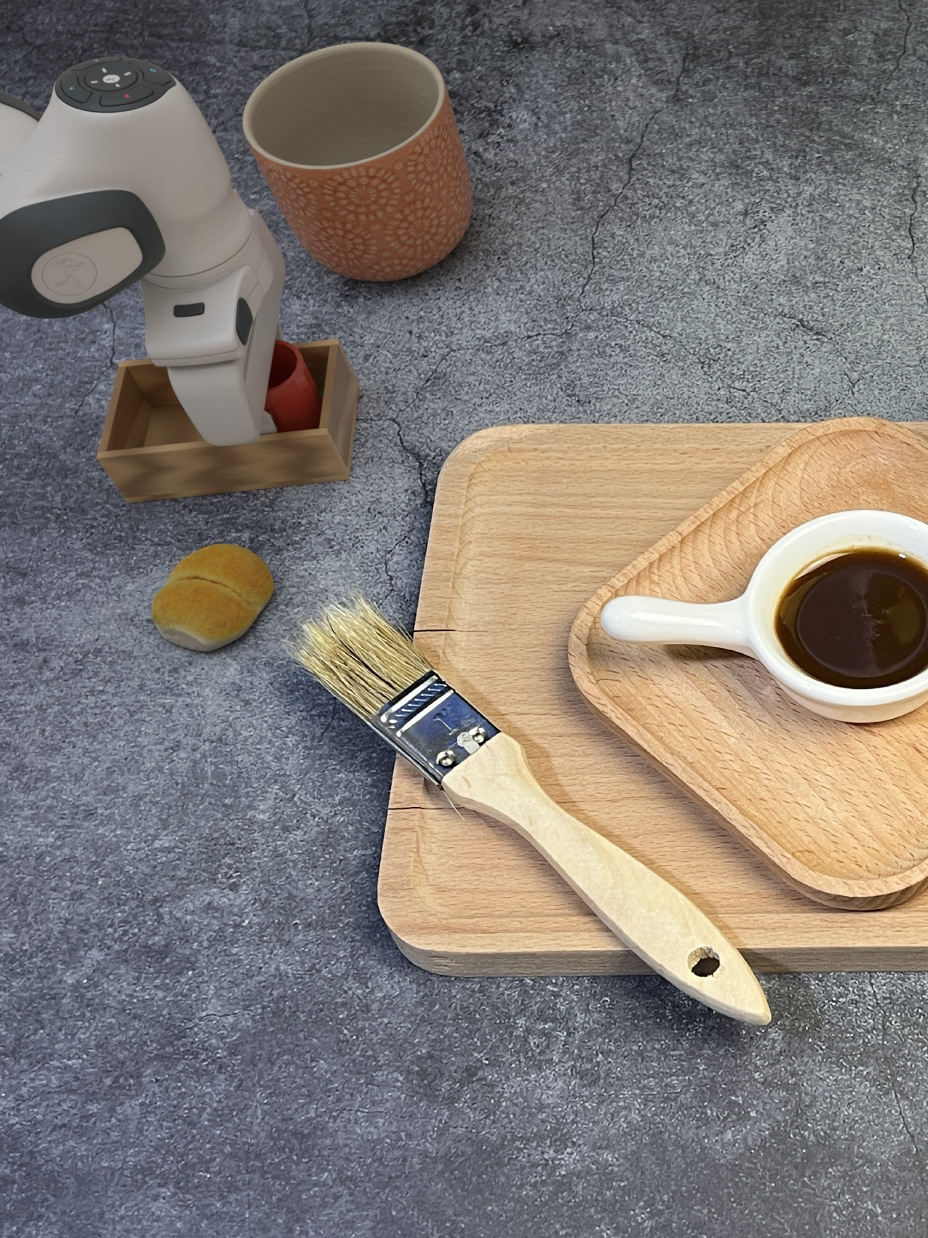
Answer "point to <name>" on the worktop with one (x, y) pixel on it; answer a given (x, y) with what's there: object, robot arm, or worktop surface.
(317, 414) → the cup
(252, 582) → the bread roll
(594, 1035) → the worktop surface
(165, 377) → the caddy
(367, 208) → the planter
